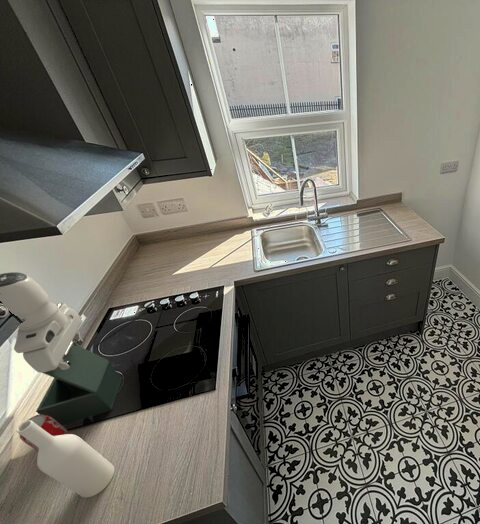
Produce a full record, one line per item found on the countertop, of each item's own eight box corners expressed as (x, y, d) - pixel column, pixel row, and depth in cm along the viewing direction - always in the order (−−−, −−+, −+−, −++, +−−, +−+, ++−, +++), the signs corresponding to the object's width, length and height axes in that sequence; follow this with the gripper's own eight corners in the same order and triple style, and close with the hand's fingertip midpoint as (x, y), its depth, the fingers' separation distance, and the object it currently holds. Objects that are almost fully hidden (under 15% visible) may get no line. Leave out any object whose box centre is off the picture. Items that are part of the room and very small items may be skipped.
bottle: (94, 502, 76) (14, 450, 59) (72, 492, 78) (-12, 440, 61) (121, 468, 83) (56, 412, 66) (100, 459, 85) (32, 403, 68)
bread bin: (55, 427, 93) (35, 411, 87) (71, 393, 103) (54, 376, 97) (112, 410, 97) (96, 393, 91) (122, 378, 107) (108, 362, 101)
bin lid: (37, 371, 81) (52, 362, 81) (58, 338, 91) (71, 329, 91) (94, 393, 91) (107, 385, 91) (106, 361, 101) (118, 354, 101)
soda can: (74, 443, 89) (49, 423, 82) (44, 462, 85) (15, 443, 78) (70, 427, 93) (46, 407, 86) (41, 445, 89) (14, 425, 82)
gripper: (48, 302, 88) (74, 333, 96) (9, 354, 72) (45, 387, 80) (73, 297, 90) (97, 328, 97) (40, 347, 74) (72, 379, 81)
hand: (73, 355), depth 89 cm, fingers open, 8 cm apart
